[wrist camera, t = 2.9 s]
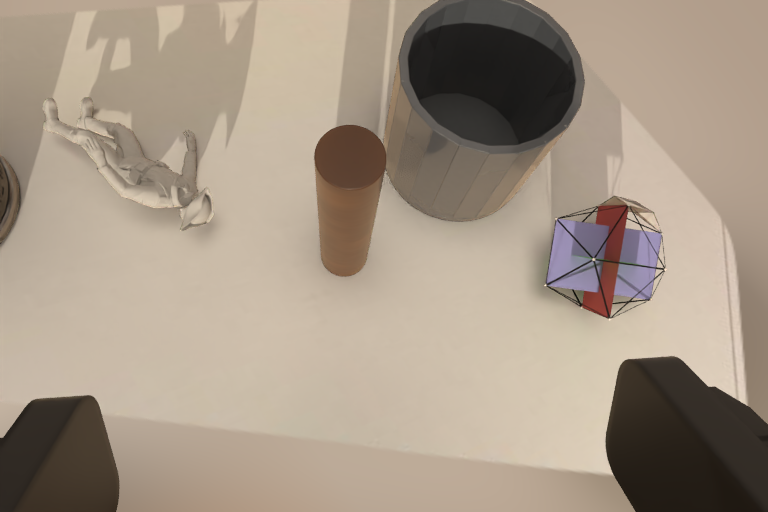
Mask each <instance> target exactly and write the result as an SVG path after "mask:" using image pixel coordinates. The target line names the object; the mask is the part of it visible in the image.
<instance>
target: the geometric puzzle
mask: <svg viewBox="0 0 768 512" xmlns="http://www.w3.org/2000/svg"><path fill="white" fill-rule="evenodd" d="M593 208H595V207H593ZM597 208H598V212H597V211H595V210H596V209H597ZM590 209H591V208H590ZM586 210H588V209H586ZM583 211H585V210H583ZM580 212H581V211H580ZM593 212H597V218H596V224H591V223H584V221H585V220H586V219H587V218H588V217H589V216H590V215H591V214H592V213H593ZM628 212H633V214H634V213H635V214H636V215H638V216H639V217H640V218H642V219H643V220H645V221H646V222H647V223H649V224H650V225H651V226H653V227H654V228H655V229H657V230H658V231H659V232H658V231H656V232H658V233H654V232H647V231H644V230H643V228H642V226H644V225H642V224H640V223H639V221H638V219H637V218H636V216H635V214H634V216H635V218H636V219H637V221H638V223H637V222H635V221H633V220H631V221H633V222H635V223H637V224H639V225H640V226H641V225H642V226H641V228H642V230H643V231H640V230H633V229H626V228H625V226H626V220H627V219H628V218H627V214H628ZM576 213H578V212H576ZM588 213H590V214H589V215H588V216H587V217H586V218H585V219H584V220H583V221H582V222H577V221H570V220H563V219H560V218H561V217H560V218H557V217H556V218H555V219H556V223H555V229H554V235H553V242H552V248H551V254H550V260H549V267H548V273H547V279H546V284H544V286H547V287H549V286H553V287H561V288H568V289H572V291H573V292H574V290H573V289H575V290H583V291H584V297H583V303H582V305H581V303H580V301H579V299H578V297H577V295H576V294H575V292H574V294H575V296H576V298H577V300H578V301H576V300H574V299H572V298H570V297H568V296H566V295H565V296H566V297H565V296H564V297H565V298H567V297H568V298H570V299H572V300H574V301H576V302H578V303H579V304H580V305H579V306H580V307H581V308H584V309H587V310H589V311H592V312H594V313H596V314H599V315H601V316H603V317H606V318H608V320H611V318H613V316H614V315H615V314H616V313H617V312H619V311H620V310H621V309H622V308H623V307H624V306H625V305H626V304H628V303H629V302H637V301H645V300H648V301H649V300H652V297H651V295H652V289H653V283H654V280H655V279H656V278H657V277H658V276H659V275H660V274H661V273H662V272H665V271H666V270H667V268H665V267H664V265H663V263H662V262H661V260H660V258H659V256H658V254H659V249H660V243H661V237H662V235H663V232H661V230H660V227H659V225H658V222H657V219H656V217H655V214H654V212H652V211H651V210H649V209H647V208H646V207H644V206H643V205H641V204H639V203H638V202H636V201H633V200H629V199H625V198H621V197H617V196H613V197H612V198H610V199H609V200H607V201H605V202H604V203H602V204H601V205H597V206H596V208H595V209H594V210H593V211H592V212H588ZM573 214H575V213H573ZM583 214H587V213H583ZM570 215H571V214H570ZM578 215H581V214H578ZM566 216H567V217H571V216H568V215H566ZM572 216H576V215H572ZM562 218H565V216H563V217H562ZM628 220H630V219H628ZM644 227H646V226H644ZM647 228H649V227H647ZM649 229H651V228H649ZM651 230H653V229H651ZM653 231H655V230H653ZM662 242H663V238H662ZM663 252H664V248H663ZM658 258H659V260H660V262H661V263H662V265H663V267H664V268H657V267H656V266H657V260H658ZM664 262H665V258H664ZM656 269H661V270H663V271H662V272H661V273H660V274H659V275H658V276H657V277H655V272H656ZM663 274H664V273H663ZM662 276H663V275H662ZM654 277H655V278H654ZM661 278H662V277H661ZM660 280H661V279H660ZM659 282H660V281H659ZM658 284H659V283H658ZM657 286H658V285H657ZM549 288H551V287H549ZM656 288H657V287H656ZM551 289H552V290H554V291H555V292H557V293H558V292H559V291H557V290H555V289H553V288H551ZM655 290H656V289H655ZM654 292H655V291H654ZM559 294H560V292H559ZM653 294H654V293H653ZM560 295H562V293H561V294H560ZM563 295H564V294H563ZM563 295H562V296H563ZM614 295H620V296H627V297H633V298H642V299H645V300H636V301H631V300H632V299H633V298H632V299H631V300H630V301H627V302H618V303H612V302H613V297H614ZM652 296H653V295H652ZM568 298H567V299H568ZM570 299H569V300H570ZM572 300H570V301H572ZM572 302H573V301H572ZM646 302H647V301H646ZM574 303H575V302H574ZM619 303H626V304H625V305H624V306H623V307H622V308H621V309H619V310H618V311H617V312H616V313H615V314H614V315H613V316H612V317H610V314H611V308H612V304H619ZM644 303H645V302H644ZM575 304H577V303H575ZM642 304H643V303H642ZM577 305H578V304H577ZM639 305H640V304H639ZM637 306H638V305H637ZM635 307H636V306H635ZM633 308H634V307H633ZM631 309H632V308H631ZM629 310H630V309H629ZM627 311H628V310H627ZM625 312H626V311H625ZM623 313H624V312H623ZM621 314H622V313H621ZM618 315H619V314H618ZM616 316H617V315H616ZM614 317H615V316H614Z"/></svg>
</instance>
